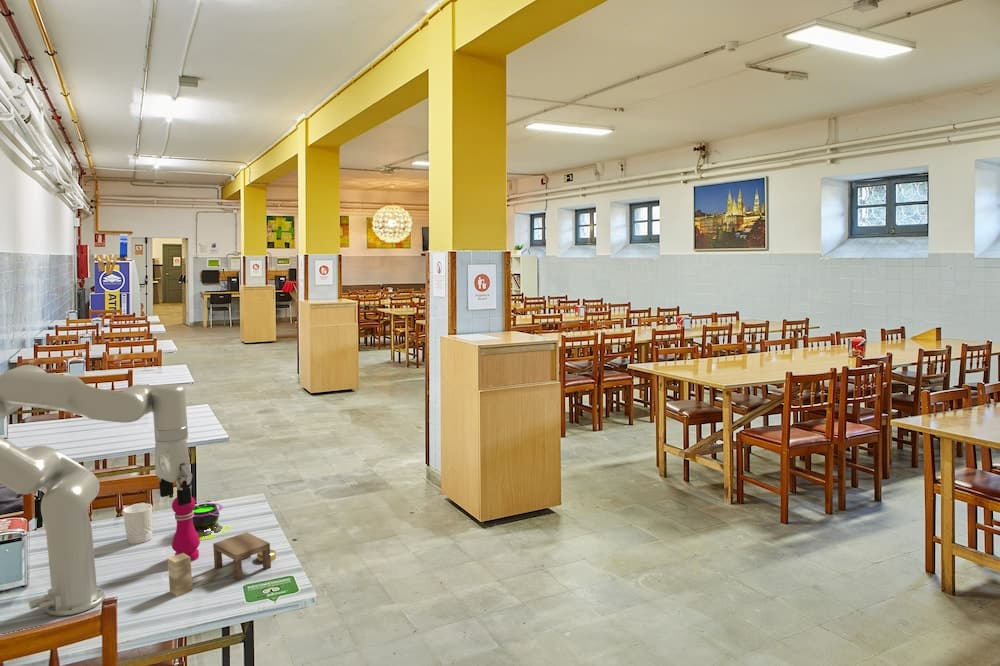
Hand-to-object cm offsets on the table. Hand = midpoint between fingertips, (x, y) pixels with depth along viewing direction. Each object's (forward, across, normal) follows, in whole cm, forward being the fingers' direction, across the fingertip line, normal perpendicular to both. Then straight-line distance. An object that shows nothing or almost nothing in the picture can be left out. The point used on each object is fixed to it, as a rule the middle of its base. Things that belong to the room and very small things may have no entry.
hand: (175, 499), depth 177 cm
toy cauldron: (+25, -33, +23) cm, 47 cm away
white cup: (+24, -42, +7) cm, 49 cm away
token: (+25, 0, +24) cm, 35 cm away
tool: (+24, 0, +6) cm, 25 cm away
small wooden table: (+24, 0, +17) cm, 30 cm away
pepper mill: (+24, -18, +10) cm, 32 cm away
